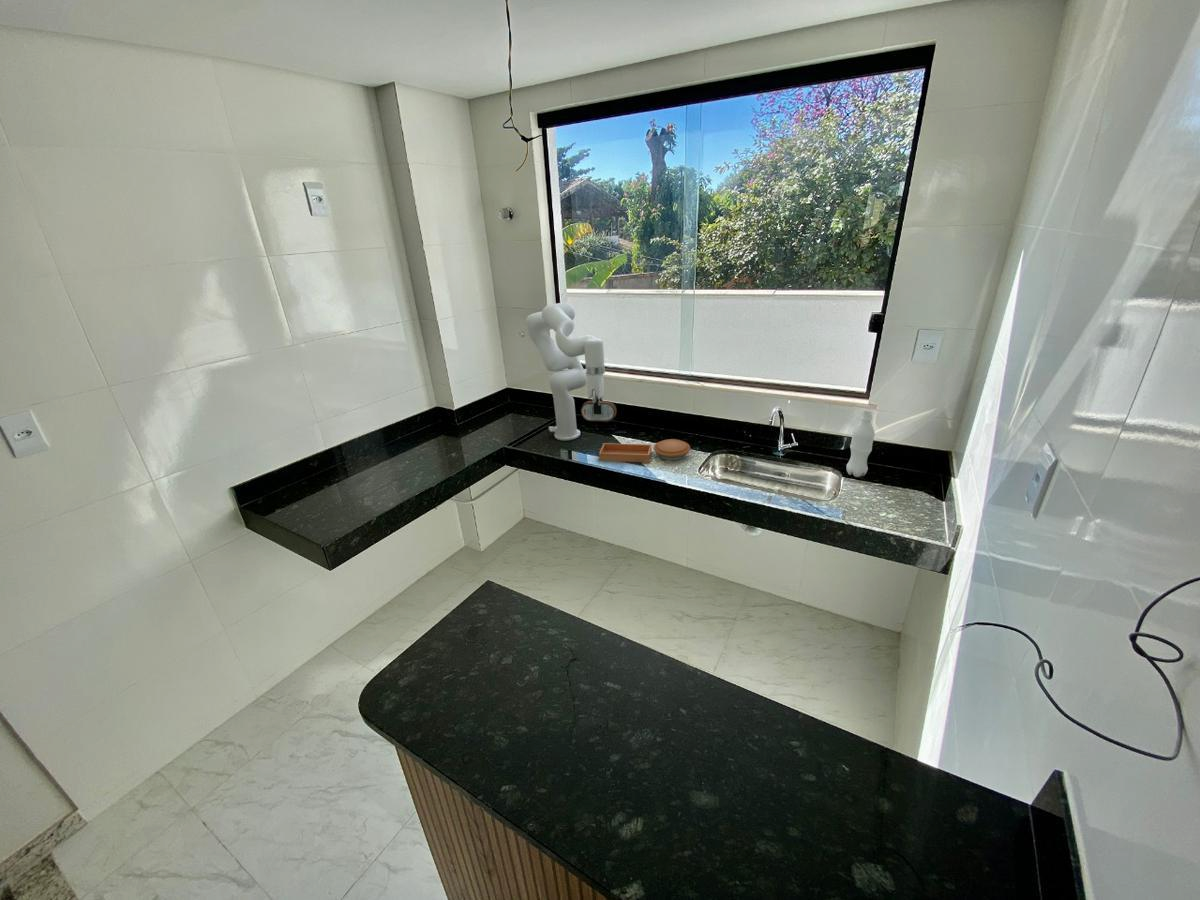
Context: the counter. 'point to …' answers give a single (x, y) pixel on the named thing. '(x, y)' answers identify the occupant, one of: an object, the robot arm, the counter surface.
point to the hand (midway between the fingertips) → (598, 412)
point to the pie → (672, 449)
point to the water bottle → (861, 446)
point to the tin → (606, 411)
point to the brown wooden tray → (625, 452)
